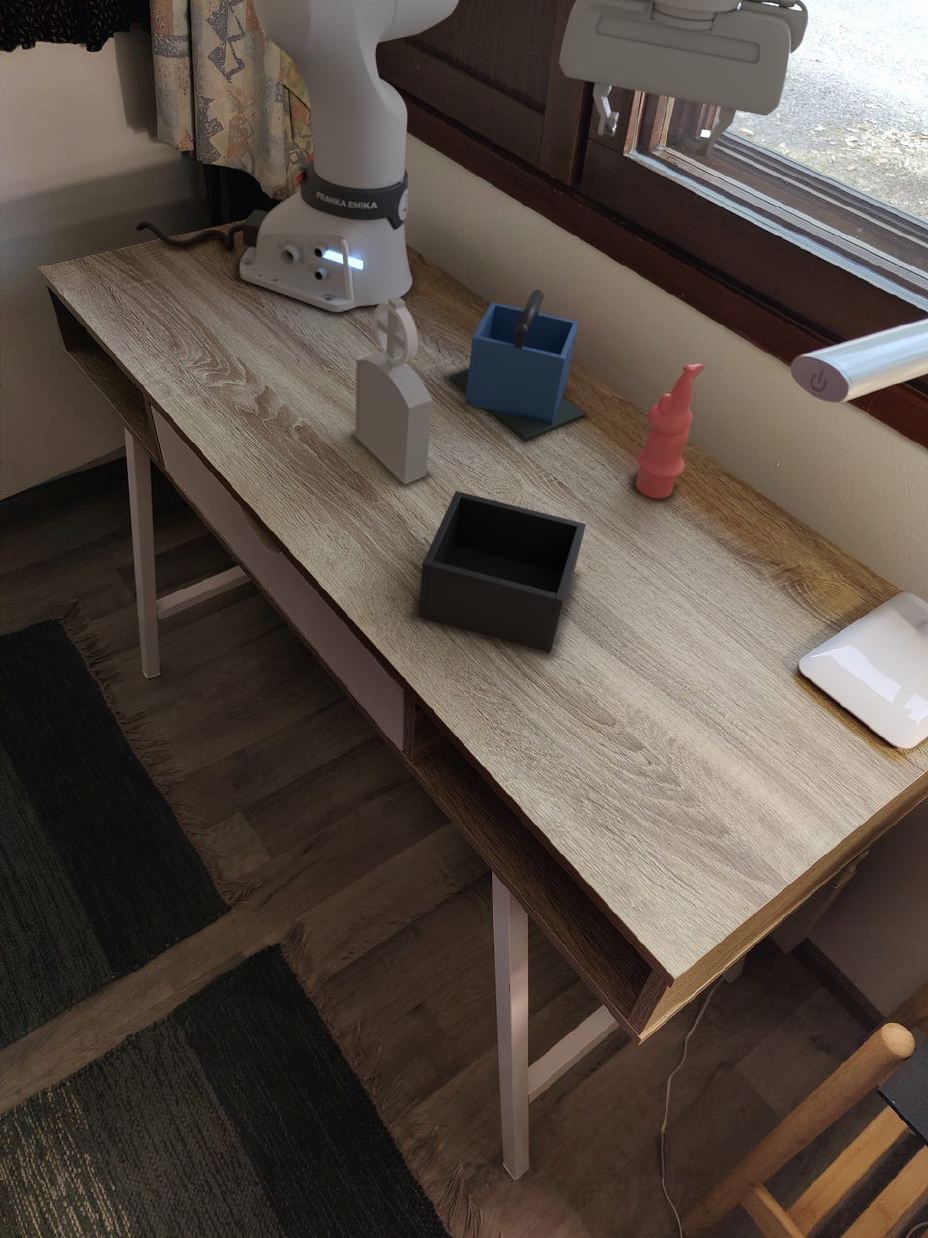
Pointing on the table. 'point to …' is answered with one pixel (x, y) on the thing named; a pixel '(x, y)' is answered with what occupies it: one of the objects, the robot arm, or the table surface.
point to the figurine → (667, 437)
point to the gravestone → (394, 396)
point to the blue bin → (521, 360)
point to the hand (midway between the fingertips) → (654, 143)
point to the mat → (523, 425)
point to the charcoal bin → (500, 570)
